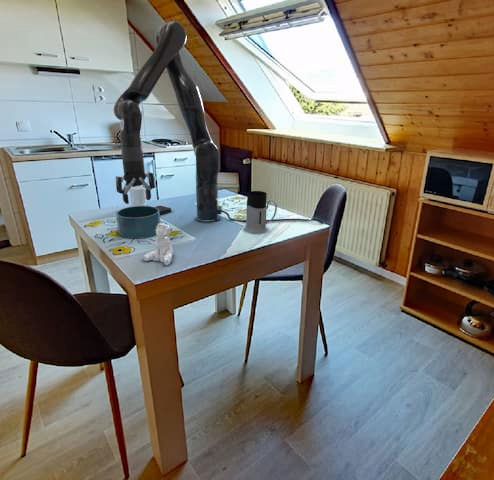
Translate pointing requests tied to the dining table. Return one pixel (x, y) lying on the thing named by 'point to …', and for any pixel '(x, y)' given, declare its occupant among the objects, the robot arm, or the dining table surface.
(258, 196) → the travel mug
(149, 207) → the cooking pot
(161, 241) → the seated beast figurine
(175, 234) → the dining table surface
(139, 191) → the white cup
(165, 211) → the smart home device
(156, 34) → the robot arm
